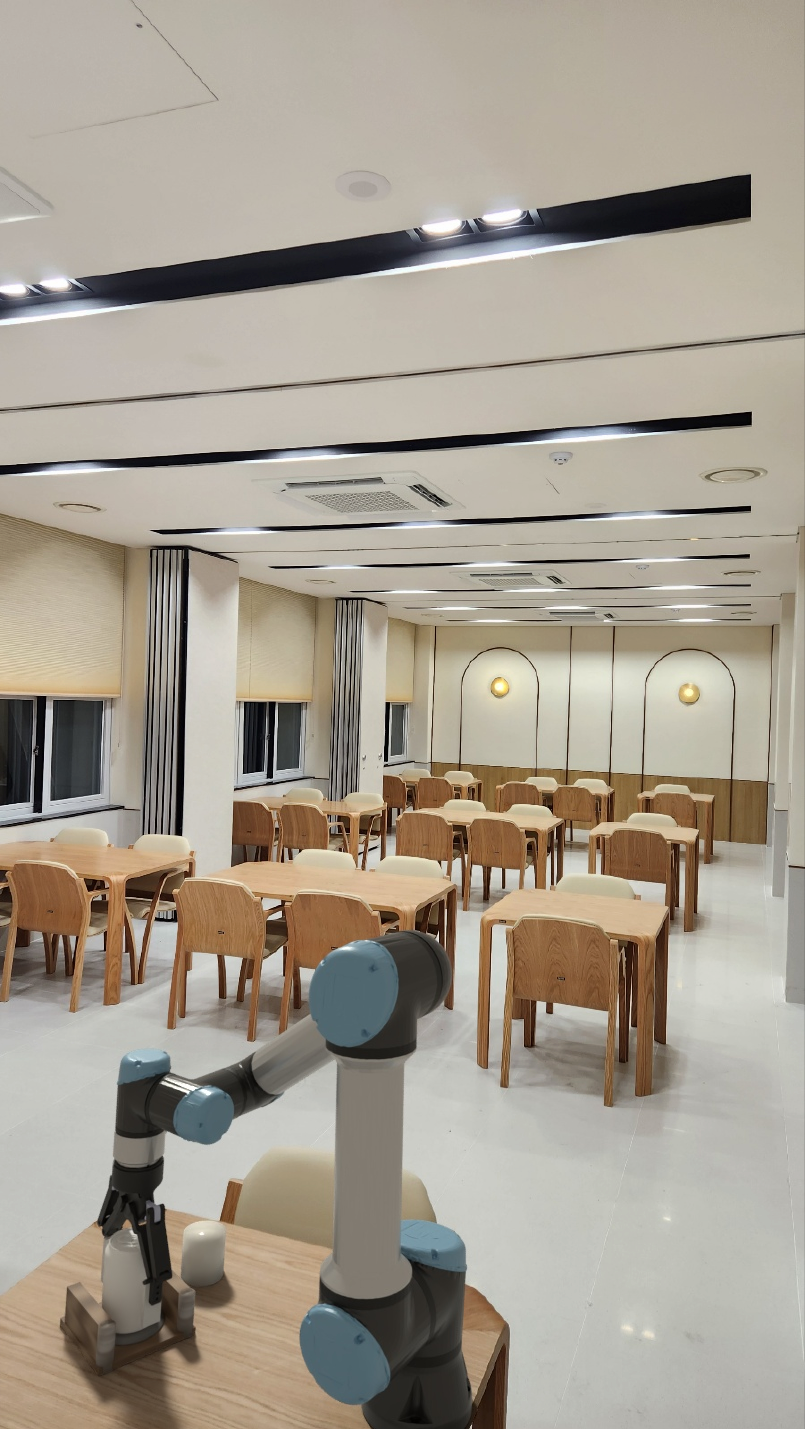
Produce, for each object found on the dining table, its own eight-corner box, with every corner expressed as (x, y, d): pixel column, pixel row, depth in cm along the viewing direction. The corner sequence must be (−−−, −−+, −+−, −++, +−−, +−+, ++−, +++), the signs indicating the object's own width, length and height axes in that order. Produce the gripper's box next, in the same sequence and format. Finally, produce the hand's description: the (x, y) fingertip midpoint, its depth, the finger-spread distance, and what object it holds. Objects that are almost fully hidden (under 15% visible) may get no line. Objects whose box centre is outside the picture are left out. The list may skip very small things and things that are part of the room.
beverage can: (140, 1342, 131) (145, 1257, 131) (89, 1331, 132) (94, 1248, 133) (165, 1309, 138) (170, 1229, 139) (118, 1299, 140) (122, 1221, 141)
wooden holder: (195, 1334, 135) (198, 1293, 135) (99, 1376, 125) (102, 1332, 125) (152, 1288, 146) (154, 1251, 146) (59, 1324, 136) (62, 1283, 136)
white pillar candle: (231, 1276, 150) (234, 1233, 150) (193, 1291, 146) (196, 1247, 146) (209, 1257, 155) (212, 1216, 156) (173, 1271, 151) (175, 1228, 151)
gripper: (202, 1182, 130) (192, 1333, 129) (126, 1122, 148) (117, 1254, 147) (154, 1197, 125) (143, 1354, 124) (81, 1133, 143) (72, 1270, 142)
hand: (129, 1300), depth 136 cm, fingers open, 13 cm apart
